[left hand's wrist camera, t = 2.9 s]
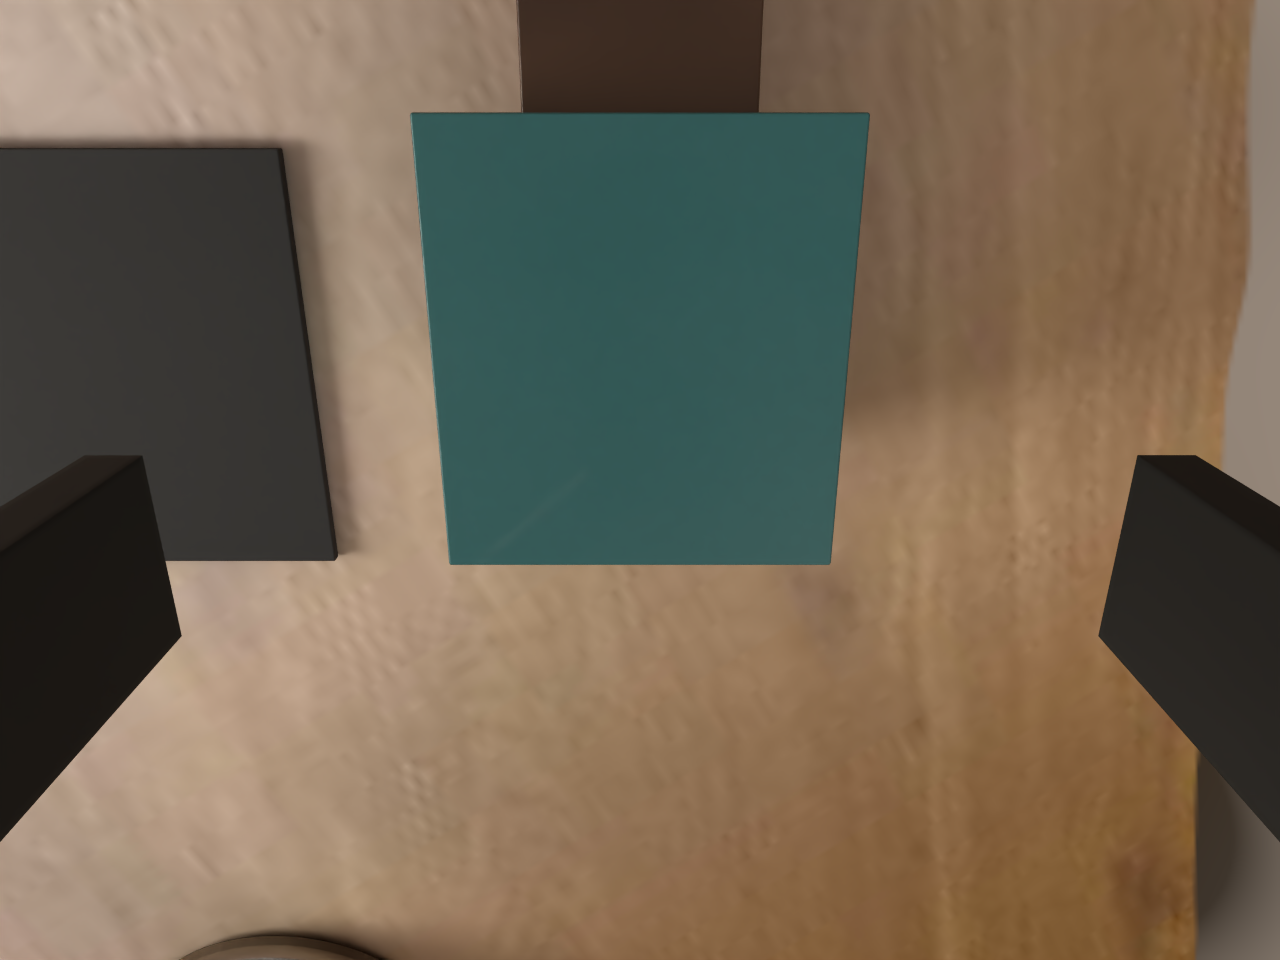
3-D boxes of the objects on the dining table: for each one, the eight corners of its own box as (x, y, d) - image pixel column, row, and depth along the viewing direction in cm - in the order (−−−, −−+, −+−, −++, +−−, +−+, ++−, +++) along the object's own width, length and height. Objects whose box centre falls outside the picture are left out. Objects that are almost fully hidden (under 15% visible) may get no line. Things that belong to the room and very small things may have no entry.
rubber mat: (338, 556, 33) (335, 561, 33) (-45, 556, 33) (-53, 561, 33) (282, 148, 28) (277, 148, 28) (-173, 148, 28) (-184, 148, 28)
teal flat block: (799, 491, 28) (830, 565, 24) (480, 491, 28) (449, 565, 24) (826, 112, 24) (870, 112, 20) (453, 112, 24) (408, 112, 20)
